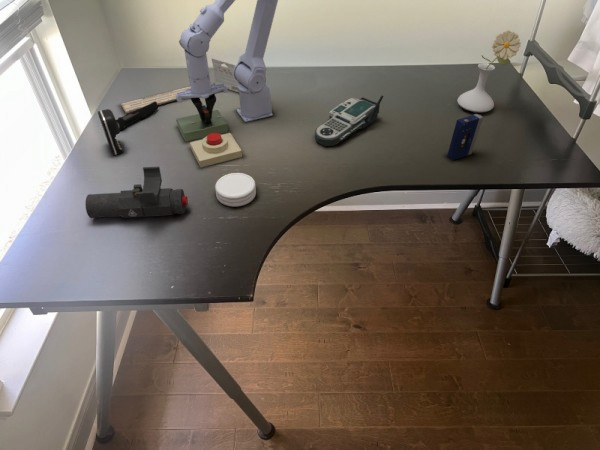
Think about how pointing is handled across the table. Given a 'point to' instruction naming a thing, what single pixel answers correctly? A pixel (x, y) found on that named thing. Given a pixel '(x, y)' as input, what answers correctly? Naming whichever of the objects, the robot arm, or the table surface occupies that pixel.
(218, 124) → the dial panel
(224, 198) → the coaster
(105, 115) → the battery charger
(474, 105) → the flower in vase
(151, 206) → the laser sight
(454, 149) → the cassette player
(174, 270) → the table surface
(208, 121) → the black rectangular block
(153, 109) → the electric trimmer
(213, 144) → the power button
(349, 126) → the communication device
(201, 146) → the box
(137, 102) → the newspaper
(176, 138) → the table surface
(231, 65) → the ink cartridge box
